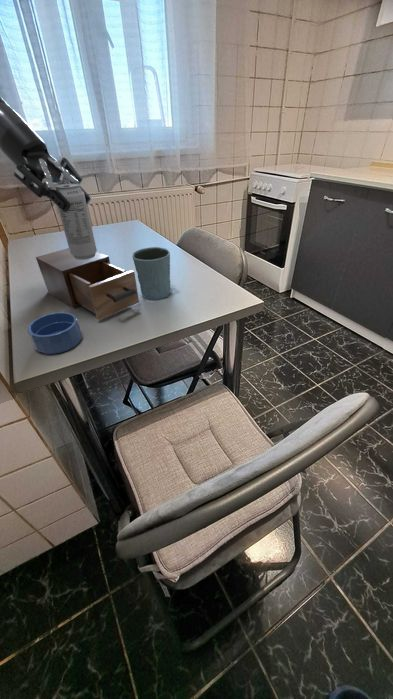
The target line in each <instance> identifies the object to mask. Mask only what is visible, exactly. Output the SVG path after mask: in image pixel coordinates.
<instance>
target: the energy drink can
mask: <svg viewBox="0 0 393 699" xmlns="http://www.w3.org/2000/svg"><path fill="white" fill-rule="evenodd" d="M54 187H55V190H58V191H59V192H60V193H61V194H62V195H63V196H64V197H65V198H66V199H67V200H68V201H69V202H70V204H71V206H70V208H69V210H68V211H66V212H64V211H63V210H62V209H60V208H59V207H58V206H57V205H56V207H57V210H58V214H59V218H60V222H61V224H62V228H63V231H64V235H65V238H66V242H67V246H68V248H69V250H70V253H71V255H72V256H74V258H75V259H78V260H85V259H90V258H93V257H94V256H95V253H96V252H98V250H97V245H96V241H95V235H94V232H93V227H92V223H91V218H90V214H89V213H90V212H89V209H88V205H87V204H86V200H85V195H84V192H83V191H82V190H81V188H80V187H79V184H71V183H69V184H61V185H58V184H57V185H54Z"/></svg>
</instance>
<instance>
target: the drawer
mask: <svg viewBox="0 0 393 699" xmlns="http://www.w3.org/2000/svg"><path fill="white" fill-rule="evenodd" d="M66 274H67V277H68V281H69V284H70V287H71V291H72V294H73V297H74V300H75V302H77V303H79V304H80V305H82V306H81V307H83V308H85V309H87V310H89V311H90V312H92V313H93V314H95V318H96V319H97V320H98V321H101V320H102V319H105V318H108V317H109V316H112V315H114V314H116V313H119V312H120V311H123V310H125V309H127V308H129V307H132V306H134V305H136V304H138V303H140V298H139V293H138V286H137V281H136V274H135V270H128V271H127V270H125V269H123V268H121V267H118V266H116V265H115V264H114V265H113V264H111V263H110V264H109V263H106V262H104V261H103V262H100V263H97V264H94V265H91V266H88V267H85V268H82V269H78V270H75V271H72V272H69V273H66Z"/></svg>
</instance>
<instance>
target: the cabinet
mask: <svg viewBox="0 0 393 699" xmlns="http://www.w3.org/2000/svg"><path fill="white" fill-rule="evenodd" d="M101 253H102V252H100V253H99V251H97V252H96V253H95V256H94V257H93V258H90V259H85V260H78V259H75V258H74V256H72V255H71V253H70V250H69V247H68V248H65V249H64V248H63V249H60V250H56V251H53V252H49V253H46V254H42V255H39V256H35V259H36V260H35V261H36V262H37V265H38V268H39V270H40V274H41V276H42V279H43V282H44V285H45V287H46V290H47V292H48V293H49V294H50V295H52V296H53V297H55V298H56V299H58V300H60V301H61V302H63V303H64V304H66V305H67V306H69V307H70V308H72V309H77V308H79V307H83V306H82V305H80V304H79V303H77V302H75V300H74V297H73V294H72V291H71V287H70V284H69V281H68V277H67V274H66V273H69V272H72V271H75V270H78V269H82V268H85V267H88V266H91V265H94V264H97V263H100V262H103V261H104V262H106V263H109V264H111V261H110V256H109V255H106V254H104V253H102V254H101Z"/></svg>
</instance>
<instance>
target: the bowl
mask: <svg viewBox="0 0 393 699" xmlns="http://www.w3.org/2000/svg"><path fill="white" fill-rule="evenodd" d="M27 333H28V337H29V338H30V340H31V342H32V345H33V347H34V349H35V350H36V351H38V352H40V353H43V354H45V355H57V354H58V355H59V354H61V353H65V352H67V351H70V350H71V349H73V348H75V347H77V345H78V344H79V343H80V342H81V340H82V337H83V334H82V331H81V327H80V324H79V321H78V318H77V315H76V314H74V313H72V312H67V311H57V312H50V313H46V314H45V315H41V316H39V317H37V318H36V319H34V320H32V321H31V322H30V323H29V325H28V326H27Z"/></svg>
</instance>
